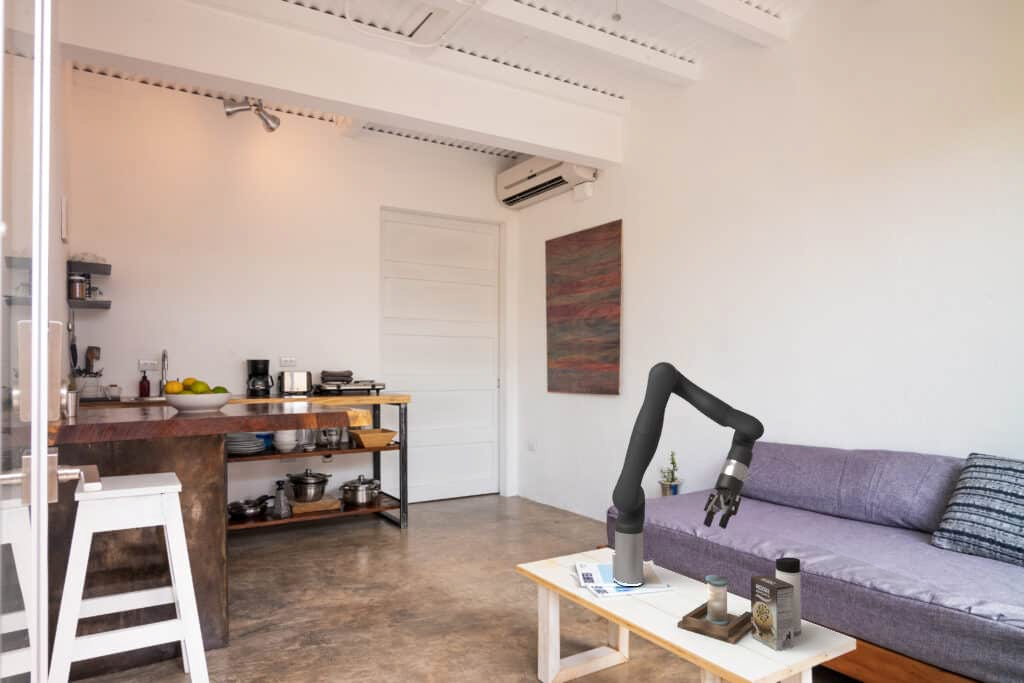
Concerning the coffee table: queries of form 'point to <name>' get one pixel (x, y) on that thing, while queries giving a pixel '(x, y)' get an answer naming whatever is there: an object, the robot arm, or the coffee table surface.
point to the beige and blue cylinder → (717, 600)
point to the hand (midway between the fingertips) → (714, 526)
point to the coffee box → (772, 612)
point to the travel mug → (791, 574)
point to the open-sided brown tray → (728, 633)
